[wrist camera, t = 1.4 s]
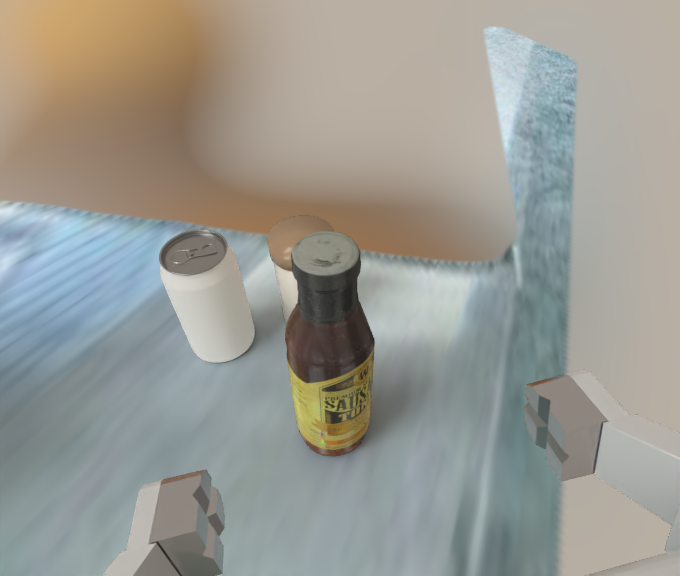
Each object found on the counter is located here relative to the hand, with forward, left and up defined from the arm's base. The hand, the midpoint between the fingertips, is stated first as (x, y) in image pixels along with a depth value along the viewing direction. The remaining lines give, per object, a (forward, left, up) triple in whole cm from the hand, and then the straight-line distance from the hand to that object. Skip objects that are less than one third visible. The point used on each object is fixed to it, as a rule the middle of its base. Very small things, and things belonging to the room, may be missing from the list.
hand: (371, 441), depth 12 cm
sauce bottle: (0, +15, -27) cm, 31 cm away
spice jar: (-1, +28, -27) cm, 39 cm away
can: (-10, +26, -27) cm, 39 cm away
